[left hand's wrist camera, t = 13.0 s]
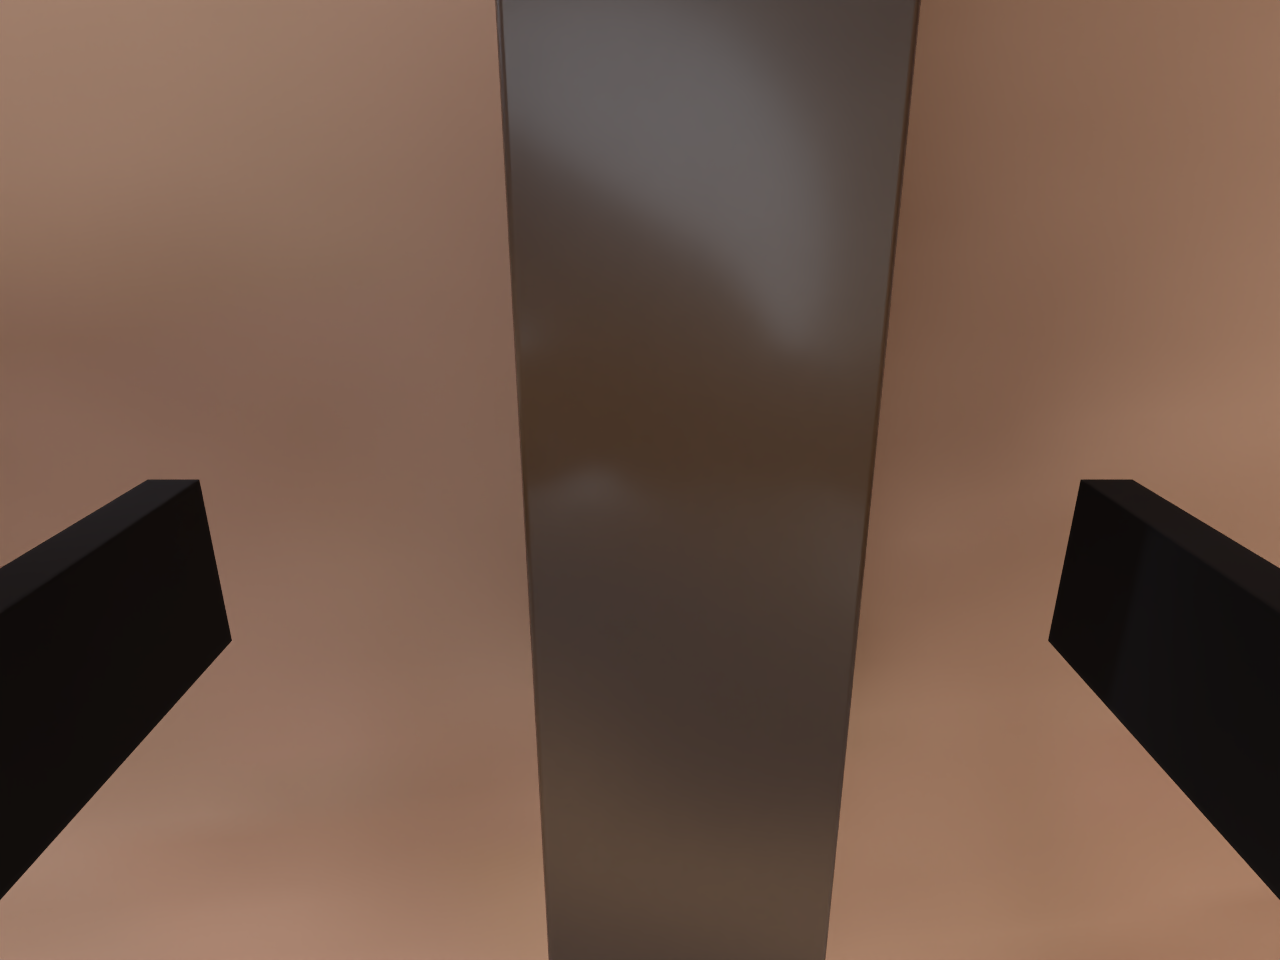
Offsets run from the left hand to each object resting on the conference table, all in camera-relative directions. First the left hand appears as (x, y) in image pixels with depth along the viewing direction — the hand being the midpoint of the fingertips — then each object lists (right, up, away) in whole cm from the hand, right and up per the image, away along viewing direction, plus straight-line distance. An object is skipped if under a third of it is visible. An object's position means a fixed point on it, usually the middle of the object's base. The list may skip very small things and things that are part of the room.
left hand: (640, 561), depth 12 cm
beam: (+1, +21, -1) cm, 21 cm away
